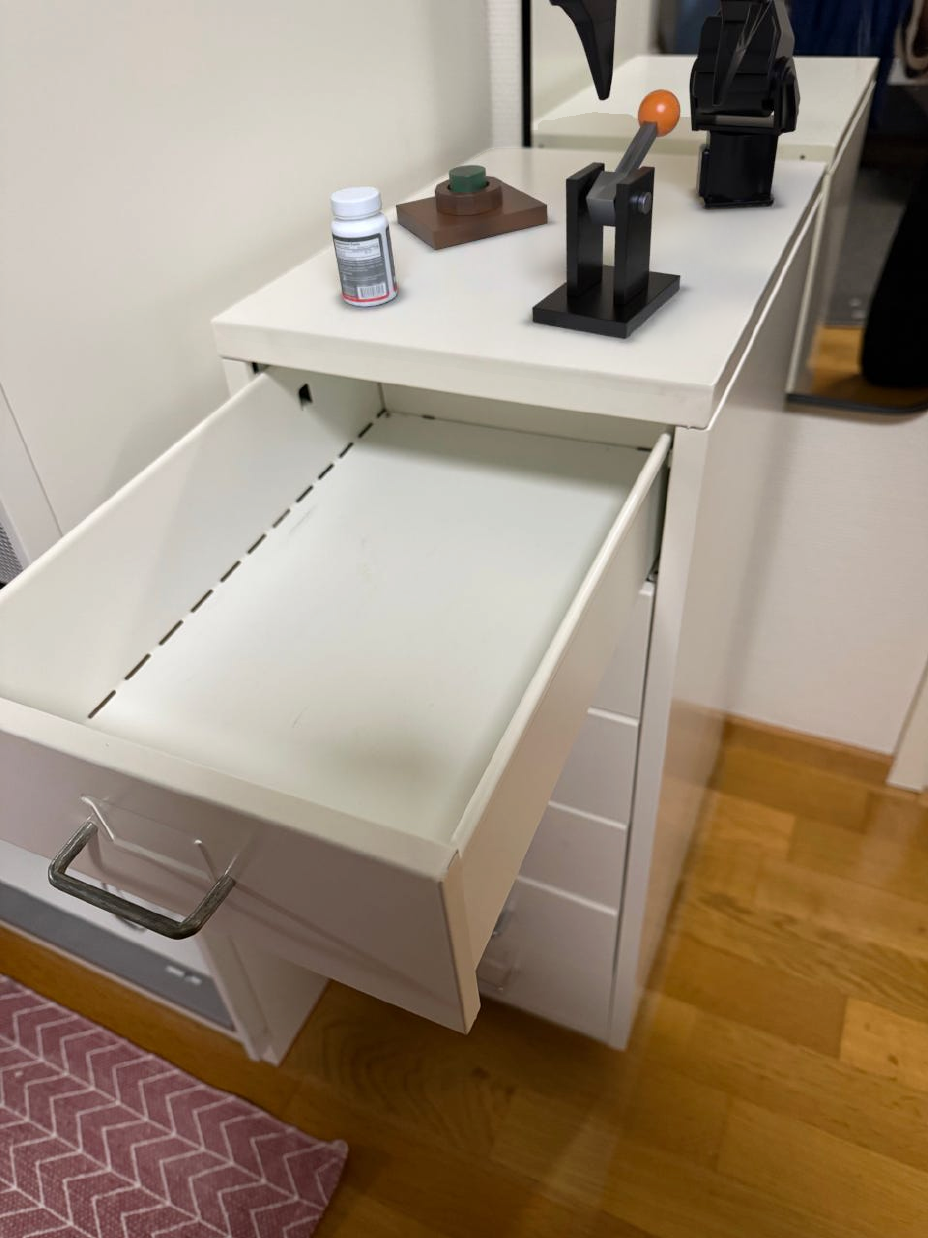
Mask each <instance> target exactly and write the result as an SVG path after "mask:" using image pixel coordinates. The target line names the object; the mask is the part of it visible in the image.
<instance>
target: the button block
mask: <svg viewBox="0 0 928 1238" xmlns="http://www.w3.org/2000/svg"><path fill="white" fill-rule="evenodd" d="M486 181H487V187H486V188H484V189H481V190H477V191H472V192H455V191H450V183H449V178H448V179H446V180H444V181H441V182H439V183H437V184H436V186H435V188H434V196H430V197H426V198H421V199H415V200H412V201H408V202H404V203H403V202H402V203H398V204H395V211H396V219H397V223H398V224H400V225H401V226H402V227H404V228H405V229H406V230H408V231H409V232H410V233H412V234H413V235H415V236H416V237H417V238H419V239H420V240H421V241H423V242H424V243H425V244H427V245H428V246H429V247H431V248H432V249H434V250H441V249H445V248H449V247H453V246H457V245H462V244H465V243H470V242H473V241H478V240H483V239H486V238H491V237H494V236H499V235H502V234H508V233H512V232H516V231H519V230H522V229H528V228H531V227H535V226H539V225H544V224H547V223H548V204H547V203H545V202H543V201H541V200H539V199H537V198H535V197H533V196H531V195H529V194H528V193H525V192H523V191H522V190H520V189H517V188H516V187H514V186H512V185H510V184H508V183H506V182H504V181H503V180H502V179H499V178H497V177H495V176H491V175H486Z"/></svg>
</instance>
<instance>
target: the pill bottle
mask: <svg viewBox="0 0 928 1238" xmlns="http://www.w3.org/2000/svg"><path fill="white" fill-rule="evenodd" d="M381 197H382V196H381V192H380V190H379V188H377V187H374V186H352V187H347V188H343V189H339V190H337V191H335V192H333V193H331V194H330V206H331V213H332V216H333V217H334V219H333V220H332V222H331V225H330V230H331V236H332V242H333V247H334V252H335V253H334V254H335V258H336V265H337V270H338V274H339V281H340V286H341V292H342V297H343V300H344V302H345V303H347V304H349V305H352V306H355V307H362V308H364V307H365V308H366V307H368V308H369V307H374V306H379V305H382V304H385V303H387V302H390V301H391V300H393V299H395V297H396V296H397V294H398V291H399V290H398V283H397V274H396V268H395V267H396V266H395V260H394V253H393V245H392V239H391V231H390V223H389V219H388V218H387V216H386V214H385V213H384V212H381V211H382V209H383V203H382V198H381Z"/></svg>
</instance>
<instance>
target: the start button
mask: <svg viewBox="0 0 928 1238" xmlns="http://www.w3.org/2000/svg"><path fill="white" fill-rule="evenodd" d="M486 176H487V169H486V167H485V166H483V165H480V164H479V165H478V164H467V165H460V166H457V167H453V168H451V169H449V171H448V179H449V183H450V191H455V192H472V191H477V190H481V189H484V188H486V187H487V181H486Z"/></svg>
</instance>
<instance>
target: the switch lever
mask: <svg viewBox="0 0 928 1238" xmlns="http://www.w3.org/2000/svg"><path fill="white" fill-rule="evenodd" d="M680 117H681V104H680V101H679V99H678V97H677V96H676V95H675V93H673V92H671V91H670V90H668V89H663V88H661V89H660V88H659V89H655V90H653V91H650V92H649V93H648V94H646V95H645V96H644V97H643V99H642V100H641V102H640V103H639V106H638V109H637V122H638V126H639V128H638V130H637V132H636V134H635V136H634V137H633V138H632V140H631V142H630V144H629V146H628V148H626V151H625V153H624V154H623V156H622V158H621V160H620V161H619V163H618V165H617V166H616V168H615V170H614V171H607V170H605V171H601V173H600V175H599V176H598V178H597V180H596V181H595V183H594V185H593V186H592V188H591V190H590V192H589V193H588V195H587V197H586V201H587V206H588V210H589V215H590V219H591V224H593V225H601V226H604V227H612V228H615V215H616V184H617V183H618V182H620V181H621V180H623V179H624V178H626V177H627V176H629V175H630V174H632V173H633V172H635V171H636V170H638V169H639V168H641V165H642V163H643V161H644V160H645V159H646V156H647V155H648V153H649V151H650V150H651V147H652V146H653V144H654V142H655V141H656V139H659V138H663V137H665V136H667V135H669V134H670V133H672V132H673V131H674V129H676V127H677V125H678V123H679V121H680V119H681V118H680Z"/></svg>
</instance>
